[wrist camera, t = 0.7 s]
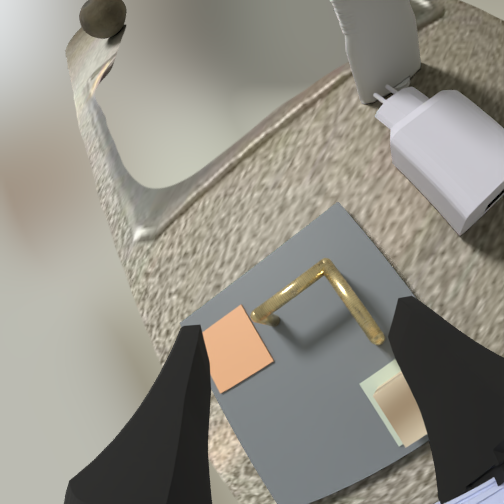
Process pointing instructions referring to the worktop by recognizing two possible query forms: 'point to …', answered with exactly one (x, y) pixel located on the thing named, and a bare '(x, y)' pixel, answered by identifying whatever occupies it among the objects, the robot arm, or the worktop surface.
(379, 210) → the worktop surface
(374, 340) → the brass corner pipe rail
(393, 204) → the worktop surface
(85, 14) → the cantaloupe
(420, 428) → the block
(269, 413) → the board
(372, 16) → the grey tall flat piece
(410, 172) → the charger
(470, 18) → the worktop surface
